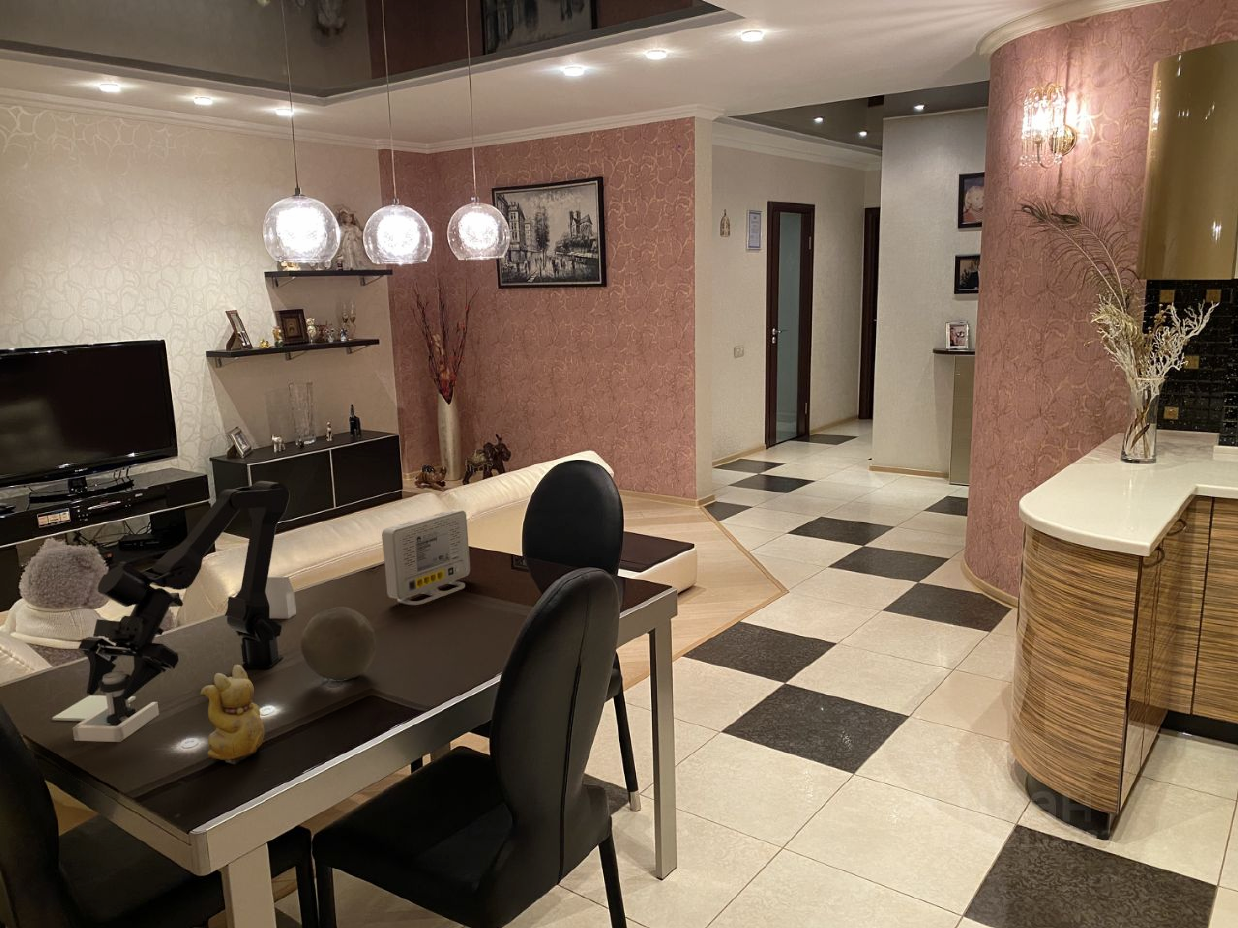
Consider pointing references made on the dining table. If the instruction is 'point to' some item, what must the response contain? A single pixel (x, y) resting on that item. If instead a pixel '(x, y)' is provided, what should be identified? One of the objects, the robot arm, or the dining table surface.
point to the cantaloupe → (338, 643)
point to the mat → (84, 708)
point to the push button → (116, 697)
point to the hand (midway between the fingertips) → (106, 696)
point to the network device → (426, 556)
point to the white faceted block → (280, 597)
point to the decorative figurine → (233, 717)
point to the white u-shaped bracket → (96, 732)
